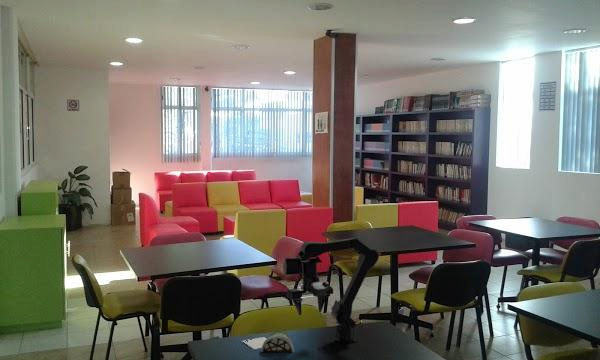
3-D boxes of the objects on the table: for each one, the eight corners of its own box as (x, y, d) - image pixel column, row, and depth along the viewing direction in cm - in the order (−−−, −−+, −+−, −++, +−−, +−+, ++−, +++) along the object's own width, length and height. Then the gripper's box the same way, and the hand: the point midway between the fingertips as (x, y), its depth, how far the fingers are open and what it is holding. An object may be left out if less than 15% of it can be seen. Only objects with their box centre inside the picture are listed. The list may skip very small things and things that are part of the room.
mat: (263, 337, 220) (263, 336, 220) (277, 345, 210) (277, 344, 210) (241, 341, 215) (241, 340, 215) (254, 350, 205) (254, 349, 205)
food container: (295, 328, 211) (293, 336, 201) (295, 343, 211) (293, 353, 201) (263, 327, 211) (260, 336, 201) (263, 343, 212) (260, 352, 202)
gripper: (299, 279, 200) (300, 321, 200) (341, 274, 209) (341, 314, 209) (285, 275, 209) (285, 315, 210) (325, 270, 219) (325, 309, 219)
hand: (310, 313), depth 212 cm, fingers open, 9 cm apart
